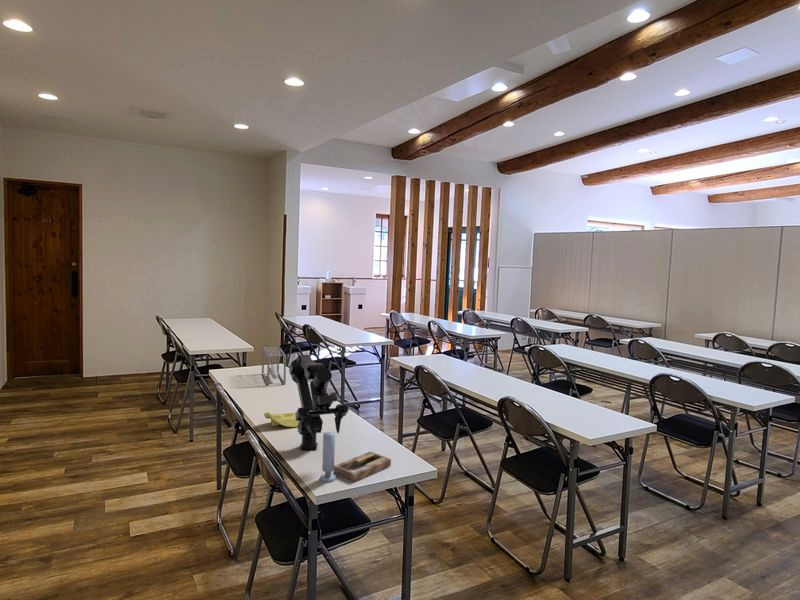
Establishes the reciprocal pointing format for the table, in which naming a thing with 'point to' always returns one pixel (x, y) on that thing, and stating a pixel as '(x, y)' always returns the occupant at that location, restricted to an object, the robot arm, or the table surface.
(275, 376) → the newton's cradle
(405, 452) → the table surface
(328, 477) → the slate peg
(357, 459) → the keyhole block
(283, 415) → the banana
